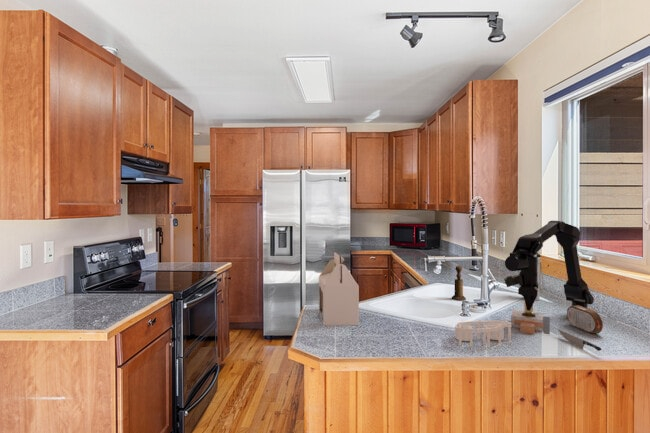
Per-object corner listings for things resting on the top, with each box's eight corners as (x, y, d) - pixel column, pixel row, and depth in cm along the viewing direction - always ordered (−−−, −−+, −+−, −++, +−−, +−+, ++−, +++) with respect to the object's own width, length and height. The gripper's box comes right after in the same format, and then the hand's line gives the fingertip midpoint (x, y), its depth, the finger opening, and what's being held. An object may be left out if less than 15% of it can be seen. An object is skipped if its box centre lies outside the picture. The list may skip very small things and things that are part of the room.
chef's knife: (556, 336, 134) (556, 328, 134) (559, 336, 134) (559, 328, 134) (599, 357, 115) (599, 347, 115) (602, 357, 115) (602, 347, 115)
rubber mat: (512, 313, 165) (512, 312, 165) (549, 318, 158) (549, 317, 158) (506, 329, 143) (506, 328, 143) (549, 335, 135) (549, 334, 135)
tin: (603, 336, 135) (603, 313, 135) (595, 336, 134) (595, 313, 134) (572, 323, 150) (573, 302, 150) (565, 324, 149) (565, 303, 149)
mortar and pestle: (465, 301, 188) (465, 265, 188) (466, 304, 182) (466, 267, 182) (451, 300, 190) (451, 264, 190) (451, 302, 184) (451, 266, 184)
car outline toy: (502, 338, 132) (502, 318, 132) (521, 350, 121) (521, 327, 121) (447, 340, 130) (447, 319, 130) (462, 352, 119) (462, 329, 119)
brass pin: (524, 318, 147) (524, 292, 147) (533, 319, 146) (533, 293, 145) (523, 320, 145) (523, 294, 144) (532, 321, 143) (532, 295, 143)
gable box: (359, 331, 140) (359, 257, 140) (323, 333, 139) (323, 257, 138) (349, 315, 162) (349, 250, 162) (318, 316, 161) (318, 251, 161)
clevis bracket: (513, 322, 152) (513, 310, 152) (542, 326, 147) (543, 313, 147) (509, 332, 139) (509, 319, 139) (542, 337, 133) (542, 323, 133)
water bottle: (526, 301, 187) (526, 251, 187) (521, 297, 195) (521, 249, 195) (546, 302, 186) (546, 251, 186) (540, 298, 194) (540, 250, 193)
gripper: (508, 264, 157) (507, 302, 157) (503, 271, 141) (503, 312, 141) (538, 266, 151) (538, 305, 151) (537, 273, 135) (537, 316, 135)
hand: (528, 309), depth 145 cm, fingers closed on brass pin, 3 cm apart
